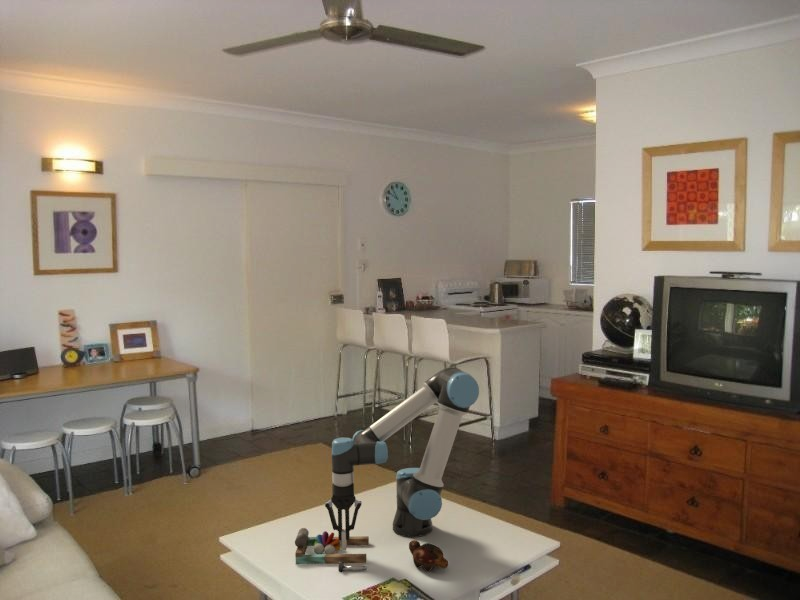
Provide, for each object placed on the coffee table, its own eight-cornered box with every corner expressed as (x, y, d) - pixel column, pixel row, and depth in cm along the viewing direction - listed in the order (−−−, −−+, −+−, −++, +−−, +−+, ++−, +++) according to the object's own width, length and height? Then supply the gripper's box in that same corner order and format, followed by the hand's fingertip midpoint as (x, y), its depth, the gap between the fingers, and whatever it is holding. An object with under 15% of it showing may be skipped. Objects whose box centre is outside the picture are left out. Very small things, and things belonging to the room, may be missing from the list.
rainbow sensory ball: (336, 558, 231) (335, 538, 231) (309, 555, 234) (309, 535, 233) (344, 548, 239) (343, 528, 239) (319, 545, 242) (318, 525, 241)
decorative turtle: (414, 556, 232) (415, 534, 231) (453, 569, 224) (455, 546, 224) (400, 566, 224) (401, 543, 223) (440, 580, 216) (442, 556, 216)
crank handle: (367, 569, 223) (367, 560, 223) (367, 571, 221) (367, 563, 221) (338, 569, 223) (338, 560, 223) (338, 572, 221) (338, 563, 221)
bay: (368, 543, 243) (368, 522, 243) (366, 563, 227) (365, 541, 227) (300, 543, 243) (300, 523, 243) (293, 564, 227) (292, 542, 227)
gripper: (362, 479, 237) (363, 543, 239) (325, 479, 237) (327, 544, 239) (361, 486, 230) (362, 553, 231) (323, 486, 230) (324, 553, 231)
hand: (344, 548), depth 235 cm, fingers closed
